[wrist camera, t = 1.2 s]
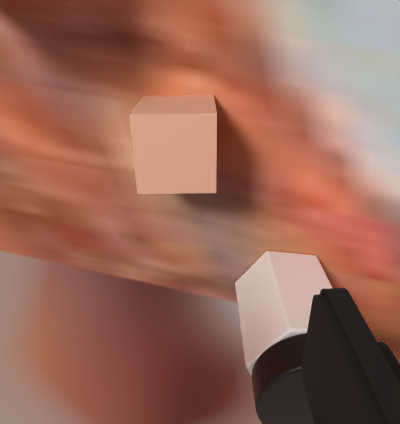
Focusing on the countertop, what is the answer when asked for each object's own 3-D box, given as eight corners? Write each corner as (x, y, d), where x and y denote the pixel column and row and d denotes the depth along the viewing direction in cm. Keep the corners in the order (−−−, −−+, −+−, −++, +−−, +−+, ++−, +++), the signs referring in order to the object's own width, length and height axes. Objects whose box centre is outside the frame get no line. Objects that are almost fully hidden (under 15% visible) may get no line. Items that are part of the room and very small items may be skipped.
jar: (281, 332, 36) (314, 459, 26) (218, 295, 34) (226, 418, 24) (347, 276, 33) (416, 395, 22) (282, 231, 31) (325, 340, 20)
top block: (213, 94, 26) (217, 113, 20) (213, 160, 28) (216, 193, 23) (143, 95, 26) (129, 114, 20) (149, 161, 28) (137, 194, 23)
